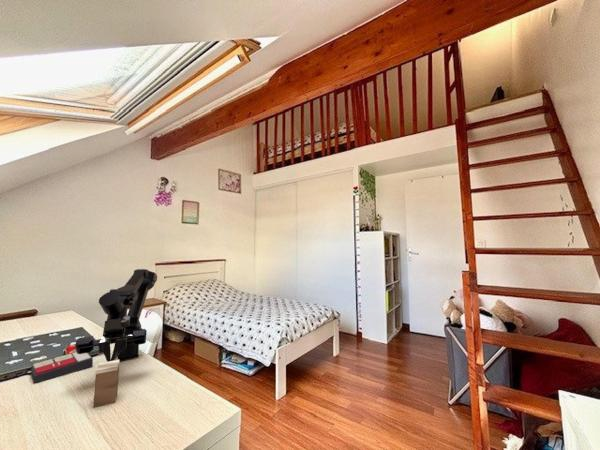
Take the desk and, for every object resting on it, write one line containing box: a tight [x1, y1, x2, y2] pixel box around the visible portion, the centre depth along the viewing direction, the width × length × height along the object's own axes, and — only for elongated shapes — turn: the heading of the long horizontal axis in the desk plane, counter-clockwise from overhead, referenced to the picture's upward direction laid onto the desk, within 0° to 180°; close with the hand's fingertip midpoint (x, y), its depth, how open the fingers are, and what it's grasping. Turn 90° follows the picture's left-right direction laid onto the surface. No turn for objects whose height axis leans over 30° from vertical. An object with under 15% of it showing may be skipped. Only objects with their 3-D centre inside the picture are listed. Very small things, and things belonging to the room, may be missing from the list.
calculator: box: [30, 353, 94, 385], centre depth 91 cm, size 11×4×15 cm
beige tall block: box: [92, 359, 120, 409], centre depth 73 cm, size 5×5×10 cm
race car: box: [63, 343, 77, 356], centre depth 103 cm, size 13×5×4 cm, turn 49°
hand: (109, 366), depth 78 cm, fingers closed
